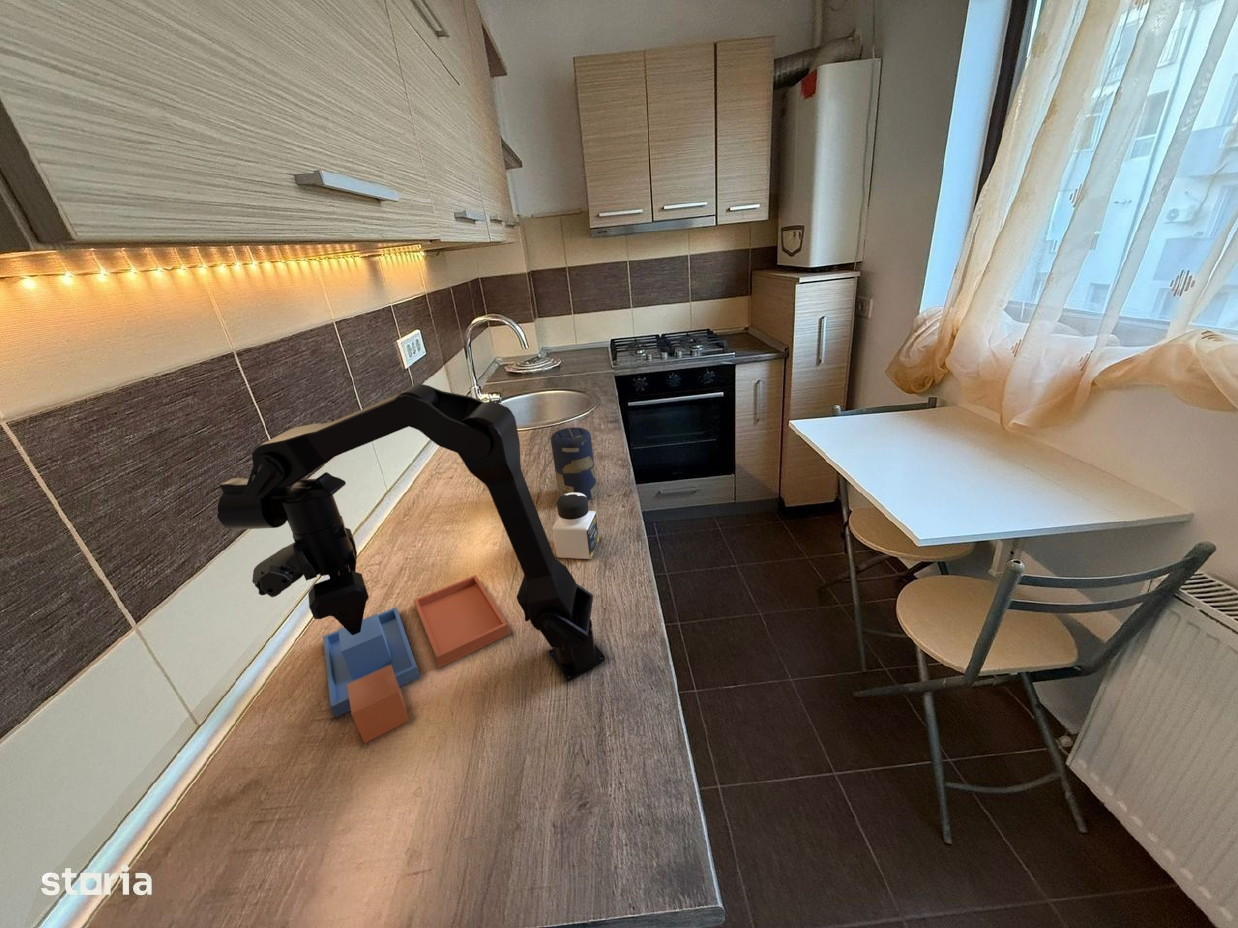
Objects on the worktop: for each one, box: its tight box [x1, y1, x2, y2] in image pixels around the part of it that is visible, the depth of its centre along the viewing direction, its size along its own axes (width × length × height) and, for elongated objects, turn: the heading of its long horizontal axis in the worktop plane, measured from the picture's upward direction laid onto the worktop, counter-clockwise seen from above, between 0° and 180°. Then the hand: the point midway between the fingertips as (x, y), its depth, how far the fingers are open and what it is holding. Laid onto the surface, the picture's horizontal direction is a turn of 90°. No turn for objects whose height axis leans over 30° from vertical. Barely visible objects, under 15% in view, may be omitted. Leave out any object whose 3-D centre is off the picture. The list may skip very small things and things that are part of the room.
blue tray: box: [322, 606, 421, 718], centre depth 73 cm, size 16×11×2 cm
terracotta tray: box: [413, 574, 510, 668], centre depth 80 cm, size 16×11×2 cm
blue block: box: [337, 613, 392, 679], centre depth 72 cm, size 6×6×6 cm
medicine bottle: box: [551, 493, 600, 560], centre depth 95 cm, size 7×7×12 cm
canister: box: [550, 426, 598, 501], centre depth 114 cm, size 10×10×18 cm
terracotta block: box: [347, 665, 410, 744], centre depth 63 cm, size 6×6×6 cm
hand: (352, 614), depth 69 cm, fingers open, 9 cm apart
